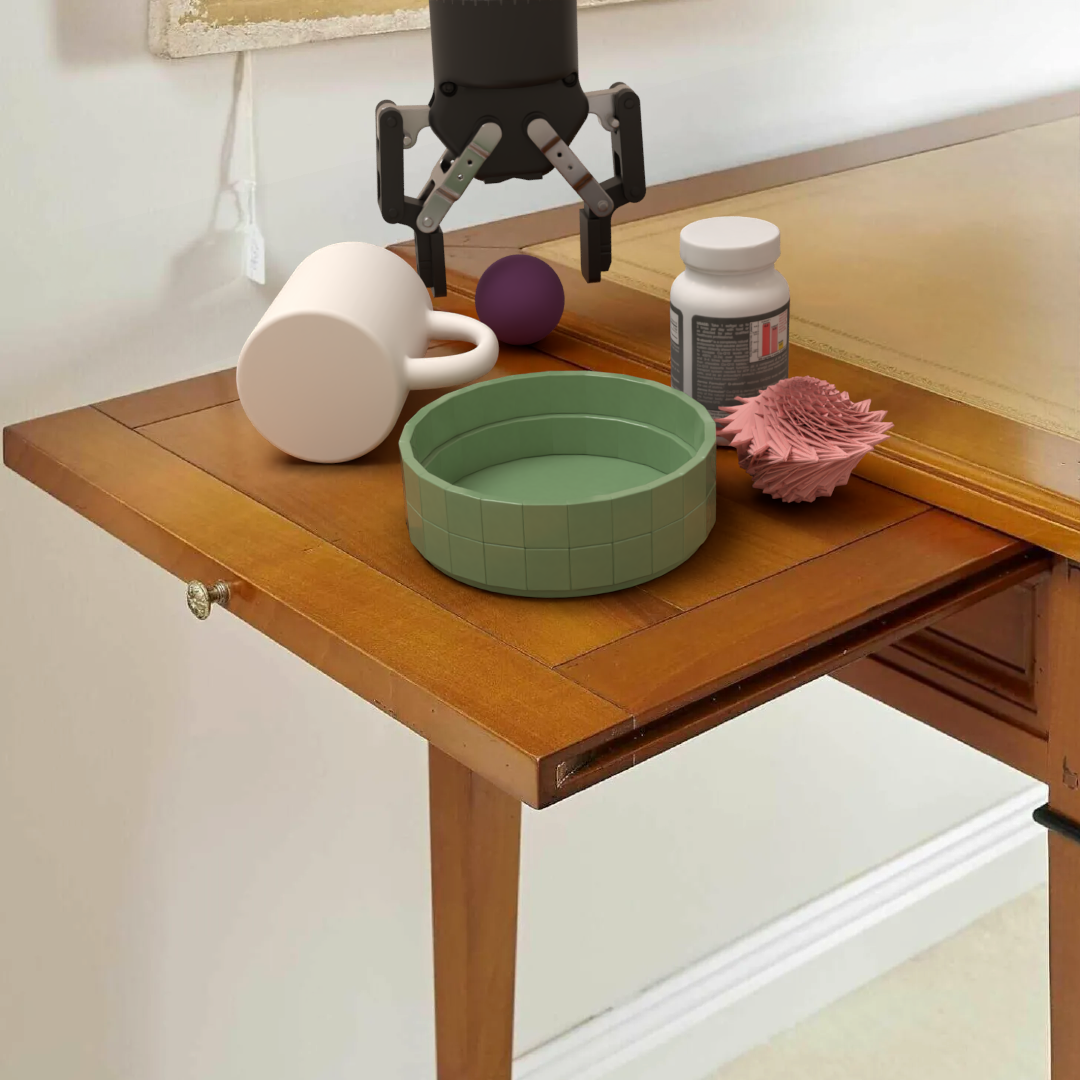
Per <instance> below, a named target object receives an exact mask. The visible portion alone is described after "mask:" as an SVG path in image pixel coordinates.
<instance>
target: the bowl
mask: <svg viewBox="0 0 1080 1080" xmlns="http://www.w3.org/2000/svg"><path fill="white" fill-rule="evenodd" d="M398 453H399V462H400V472H401V482H402V491H403V492H402V494H403V502H404V514H405V515H404V516H405V524H406V527H407V532H408V536H409V540H410V543H411V544H412V545H413V546H414V547H415V549H416V550H417V551H418V552H419V553H420V555H422V556H423V558H424V559H425V560H427V561H428V562H429V563H430V564H431V565H432V566H433V567H434V568H435V569H436V570H438V571H440V573H443V574H444V575H446V576H448V577H450V578H451V579H454V580H456V581H458V582H460V583H463V584H466V585H468V586H471V587H474V588H478V589H481V590H485V591H488V592H491V593H497V594H503V595H508V596H515V597H518V596H519V597H525V598H541V599H542V598H545V599H547V598H548V599H550V598H551V599H555V598H556V599H558V598H578V597H586V596H594V595H601V594H606V593H607V594H608V593H612V592H617V591H621V590H625V589H630V588H632V587H636V586H638V585H641V584H642V585H643V584H645V583H648V582H650V581H652V580H655V579H657V578H659V577H661V576H664V575H666V574H667V573H669V572H671V571H673V570H675V569H677V568H678V567H679V566H681V565H682V564H684V563H685V562H686V561H688V560H689V559H690V558H691V557H692V556H693V555H694V554H695V553H696V552H697V551H698V549H700V547H701V546H702V545H703V544H704V543H705V541H706V540H707V538H708V537H709V534H710V532H711V531H712V529H713V528H714V525H715V523H716V520H717V519H716V518H717V445H716V423H715V421H714V420H713V418H712V417H711V415H710V414H709V412H708V411H707V409H706V408H705V407H704V406H703V405H702V404H700V403H699V402H697V401H696V400H695V399H693V398H692V397H690V396H689V395H687V394H686V393H684V392H682V391H679V390H677V389H674V388H672V387H671V386H669V385H667V384H664V383H661V382H660V381H659V382H658V381H656V380H652V379H647V378H643V377H639V376H638V377H637V376H633V375H629V374H623V373H614V372H603V371H595V370H594V371H593V370H545V371H538V372H529V373H527V372H526V373H521V374H520V373H518V374H512V375H511V374H510V375H506V376H501V377H497V378H493V379H489V380H488V379H487V380H484V381H480V382H476V383H473V384H470V385H468V386H464V387H462V388H459V389H456V390H454V391H451V392H448V393H445V394H444V395H442V396H440V397H438V398H437V399H435V400H433V401H431V402H430V403H428V404H426V405H424V406H423V407H421V408H420V409H419V410H418V411H416V413H415V414H414V415H413V416H412V417H410V419H409V420H408V421H407V422H406V423H405V424H404V426H403V429H402V432H401V434H400V437H399V440H398Z"/></svg>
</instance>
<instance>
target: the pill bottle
mask: <svg viewBox="0 0 1080 1080" xmlns="http://www.w3.org/2000/svg"><path fill="white" fill-rule="evenodd" d="M781 252H782V251H781V230H780V228H779V227H778V226H777V225H776V224H774V223H773V222H770V221H768V220H765V219H761V218H756V217H751V216H750V217H749V216H741V215H740V216H739V215H737V216H736V215H732V216H731V215H729V216H728V215H727V216H725V215H724V216H713V217H709V218H702V219H698V220H695V221H693V222H690V223H689V224H686V226H684V227H683V228H682V229H681V230H680V233H679V258H680V259H681V261H682V262H683V265H684V267H685V269H684V270H683V271H682V272H681V273H679V274H678V275H677V276H676V278H675V279H674V281H673V282H672V284H671V287H670V294H669V326H670V327H669V329H670V331H669V332H670V339H669V340H670V341H669V342H670V387H672V388H674V389H677V390H679V391H682V392H684V393H686V394H687V395H689V396H690V397H692V398H693V399H695V400H696V401H697V402H699V403H700V404H702V405H703V406H704V407H705V408H706V409H707V411H708V412H709V414H710V415H711V417H712V418H713V419H715V418H716V419H720V418H725V417H727V416H729V415H731V414H729V413H727V412H724V411H722V410H720V409H718V406H719V407H733V406H739V405H744V404H743V403H741V402H740V401H738V400H735V399H734V398H736V397H737V396H738V397H741V398H751V397H757V396H759V395H760V393H759V390H763V391H764V390H767V387H768V386H772V385H775V384H776V383H779V381H780V380H785V379H789V370H790V369H789V366H790V365H789V360H790V321H791V292H790V291H791V290H790V286H789V282H788V281H787V279H786V278H785V276H784V275H783V274H782V273H781V272H780V271H778V270H777V269H776V268H775V263H776V262H777V260H778V259H779V258H780V257H781ZM715 423H716V431H721V430H723V429H724V428H725V427H724V426H723V425H721V424H720V423H719V422H715ZM729 444H731V442H730V441H728V440H727V439H725V438H723V437H721V436H720V435H716V446H718V447H730V446H729Z"/></svg>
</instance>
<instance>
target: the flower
mask: <svg viewBox="0 0 1080 1080" xmlns="http://www.w3.org/2000/svg"><path fill="white" fill-rule="evenodd" d="M759 393H760V395H759V396H757V397H751V398H741V397H738V396H737V397H736V398H734V399H735V400H738V401H740V402H741V403H743V404H744V405H739V406H733V407H719V406H718V409H720V410H722V411H724V412H727V413H729V414H731V415H729V416H727V417H725V418H720V419H716V418H715V419H713V420H714V421H715V422H719V423H720V424H721V425H723V426H724V427H725V428H724V429H723V430H721V431H716V435H720V436H721V437H723V438H725V439H727V440H728V441H730V442H731V444H729V446H728V447H733V448H735V449H736V453H737V458H738V459H737V460H738V462H737V463H738V466H739V468H740V469H743V470H745V474H748V475H749V476H750V477H751V481H752V482H753V483H752V489H757V490H762V494H768V495H771V498H772V499H774V500H775V499H781V501H782V503H788V504H789V503H792V502H795V503H798V504H800V503H801V502H807V503H813V502H815V500H816V498H819V497H831V496H832V494H833V491H834V489H835V487H839V486H847V484H848V481H849V479H850V477H851V473H852V471H853V469H856V468H857V465H858V464H859V462H861V460H862V459H863V458H864V457H865V456H866V455H867V453H870V452H873V451H875V446H877V445H879V444H881V443H883V442H885V441H887V440H889V439H890V438H891V435H887V434H885V433H886V432H888V431H890V430H891V429H893V428H894V427H895V424H894V423H893V421H890V422H889V421H888V422H885V421H883V420H884V419H885V417H886V416H887V414H888V412H889V411H888V410H884V409H882V410H873V411H870V407H871V403H872V399H871V398H868V399H864V400H861V401H858V402H853V401H852V400H851V399H850V396H849V392H848V391H846V390H844V391H842V392H840V390H838V389H837V386H836V385H835V384H833V383H831V384H830V382H828V381H827V380H821V379H820V378H818V377H816V378H815V376H812V377H811V376H810V375H805V376H792V377H790V378H788V379H785V380H780V381H779V383H776V384H775V385H772V386H768V387H767V390H764V391H763V390H759ZM882 421H883V422H882Z"/></svg>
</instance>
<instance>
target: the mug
mask: <svg viewBox="0 0 1080 1080" xmlns="http://www.w3.org/2000/svg"><path fill="white" fill-rule="evenodd" d="M431 341H459V342H460V341H461V342H465V343H466V342H467V343H471V344H473V345H475V346H476V347H475V348H474V349H472V350H470V351H467V352H463V353H459V354H454V355H453V354H452V355H447V356H436V357H425V356H426V353H427V351H428V349H429V347H430V345H431ZM499 351H500V347H499V340H498V339H497V337H496V335H495V334H494V332H493V331H492V330H491V329H490V328H489V327H488V326H487V325H485V324H483V323H482V322H480V320H479V319H476V318H473V317H470V316H467V315H465V314H460V313H455V312H449V311H440V310H434V306H433V303H432V299H431V296H430V293H429V291H428V288H426V286H425V284H424V283H423V281H422V279H421V278H420V277H419V275H418V273H417V270H415V269H414V268H413V267H412V266H411V265H410V264H409V263H408V262H407V261H406V260H405V259H403V258H402V257H400V256H399V255H397V254H396V253H395V252H393V251H391V250H389V249H387V248H385V247H382V246H379V245H377V244H373V243H369V242H364V241H344V242H343V241H342V242H337V243H332V244H328V245H326V246H323V247H321V248H319V249H317V250H316V251H314V252H312V253H310V254H309V255H308V256H307V257H305V258H304V259H303V260H302V261H301V262H300V263H299V264H298V265H297V267H296V268H295V270H294V271H293V272H292V274H291V275H290V277H288V280H287V281H286V282H285V283H284V285H283V286H282V288H281V289H280V291H279V292H278V294H277V295H276V297H275V298H274V299H273V301H272V302H271V304H270V305H269V307H268V308H267V310H266V311H265V312H264V314H263V315H262V317H261V318H260V319H259V322H258V323H257V324H256V325H255V327H254V328H253V330H252V332H251V333H250V334H249V336H248V337H247V339H246V340H245V342H244V344H243V346H242V348H241V350H240V353H239V356H238V360H237V363H236V372H235V373H236V374H235V376H236V377H235V381H236V389H237V394H238V398H239V401H240V404H241V407H242V409H243V411H244V414H245V416H246V417H247V419H248V420H249V422H250V423H251V425H252V426H253V428H254V429H255V430H256V431H257V432H258V433H259V435H261V436H262V437H263V439H265V440H266V441H267V442H268V443H270V444H271V445H272V446H274V447H275V448H276V449H278V450H280V451H282V452H284V453H285V454H287V455H290V456H292V457H294V458H296V459H300V460H304V461H307V462H312V463H319V464H335V463H337V464H338V463H344V462H349V461H353V460H355V459H358V458H360V457H362V456H364V455H367V454H368V453H370V452H372V451H373V450H375V449H376V448H377V447H379V445H381V444H382V443H383V442H384V441H385V440H386V439H387V437H389V435H390V433H391V432H392V431H393V429H394V427H395V426H396V424H397V421H398V420H399V417H400V414H401V412H402V410H403V408H404V406H405V403H406V401H407V398H408V396H409V394H410V392H411V391H418V390H419V391H420V390H434V389H442V388H448V387H454V386H459V385H463V384H467V383H471V382H474V381H476V380H478V379H481V378H483V377H484V376H486V375H488V374H489V373H490V372H491V371H492V370H493V368H495V365H496V363H497V361H498V359H499Z"/></svg>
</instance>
